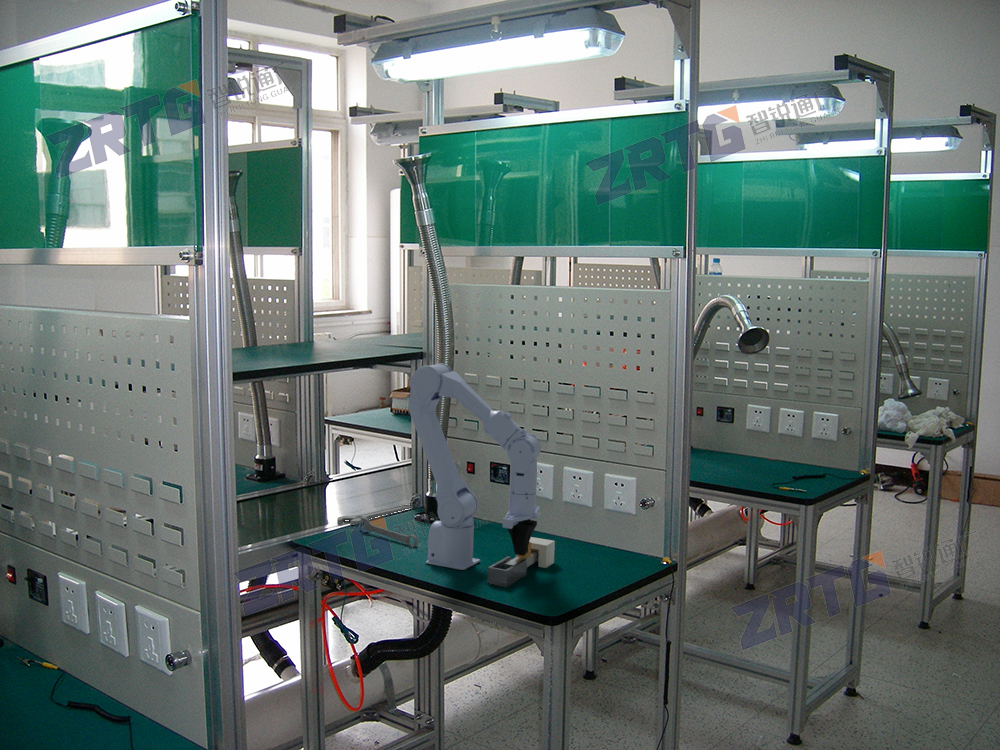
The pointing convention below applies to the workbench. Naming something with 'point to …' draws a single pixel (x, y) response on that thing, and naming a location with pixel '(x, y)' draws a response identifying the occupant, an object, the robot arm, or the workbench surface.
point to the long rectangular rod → (530, 556)
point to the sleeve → (506, 572)
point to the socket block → (543, 551)
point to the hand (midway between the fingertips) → (520, 554)
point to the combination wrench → (389, 533)
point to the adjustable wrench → (370, 515)
